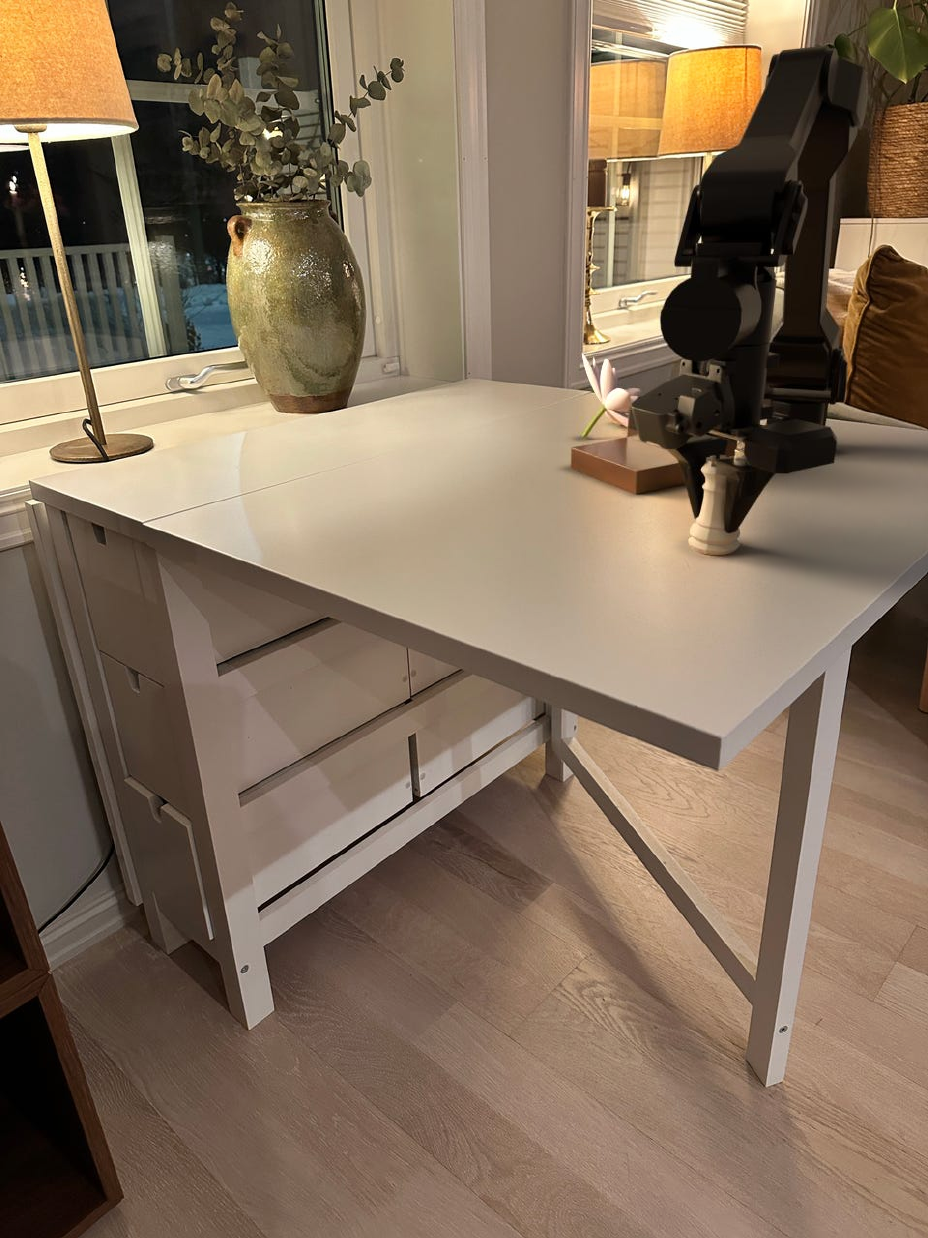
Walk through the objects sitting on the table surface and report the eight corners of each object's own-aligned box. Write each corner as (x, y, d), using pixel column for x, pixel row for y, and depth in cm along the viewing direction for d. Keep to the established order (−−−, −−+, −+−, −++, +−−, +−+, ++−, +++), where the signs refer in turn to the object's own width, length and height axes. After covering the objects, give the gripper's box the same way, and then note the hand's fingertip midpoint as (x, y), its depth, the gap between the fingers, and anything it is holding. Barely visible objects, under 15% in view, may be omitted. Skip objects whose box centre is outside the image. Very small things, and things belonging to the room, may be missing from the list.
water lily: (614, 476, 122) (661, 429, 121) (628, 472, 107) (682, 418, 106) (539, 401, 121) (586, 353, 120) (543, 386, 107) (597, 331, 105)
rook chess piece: (730, 559, 76) (740, 468, 72) (680, 551, 78) (687, 462, 74) (745, 543, 79) (755, 455, 76) (697, 535, 81) (704, 449, 78)
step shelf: (665, 450, 108) (668, 400, 106) (736, 472, 99) (741, 419, 96) (570, 468, 102) (571, 416, 100) (635, 494, 93) (638, 437, 90)
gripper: (582, 338, 75) (577, 513, 82) (741, 368, 60) (720, 580, 67) (684, 326, 80) (672, 493, 86) (856, 351, 65) (825, 551, 71)
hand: (715, 525), depth 78 cm, fingers closed on rook chess piece, 3 cm apart
